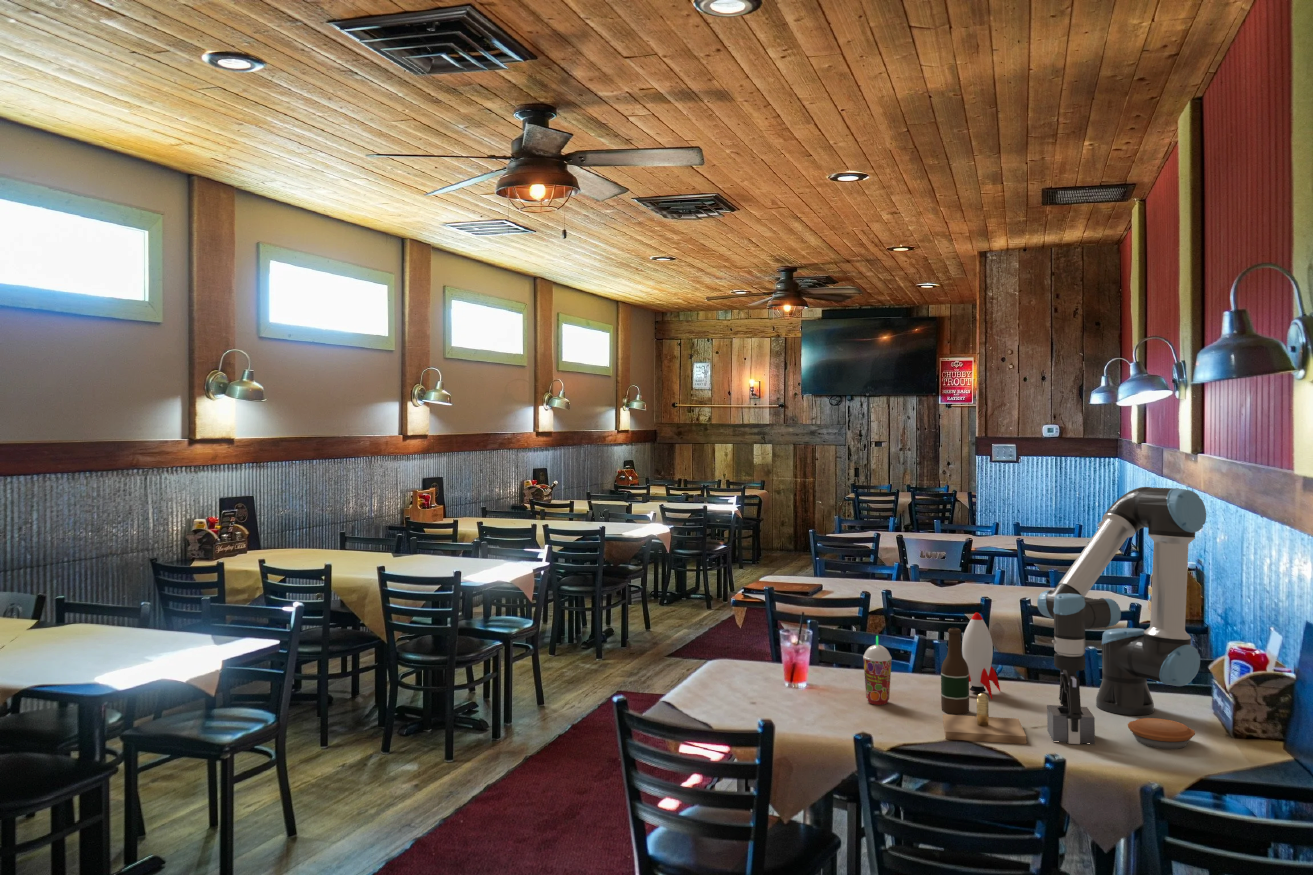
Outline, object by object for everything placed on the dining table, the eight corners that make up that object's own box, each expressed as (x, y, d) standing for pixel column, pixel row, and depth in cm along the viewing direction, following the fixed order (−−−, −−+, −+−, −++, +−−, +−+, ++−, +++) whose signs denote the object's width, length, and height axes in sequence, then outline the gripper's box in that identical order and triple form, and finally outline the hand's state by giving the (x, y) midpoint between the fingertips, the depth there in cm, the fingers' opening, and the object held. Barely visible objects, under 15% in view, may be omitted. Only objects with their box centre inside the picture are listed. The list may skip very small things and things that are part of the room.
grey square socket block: (1087, 732, 258) (1087, 706, 258) (1094, 744, 248) (1094, 717, 248) (1047, 730, 260) (1047, 704, 260) (1053, 742, 250) (1053, 715, 250)
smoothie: (861, 704, 287) (860, 637, 287) (866, 697, 295) (865, 632, 295) (889, 707, 284) (889, 639, 284) (894, 699, 292) (893, 634, 292)
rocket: (1000, 691, 300) (999, 611, 300) (992, 699, 291) (991, 616, 291) (964, 686, 306) (963, 608, 306) (955, 694, 297) (954, 613, 297)
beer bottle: (970, 715, 275) (970, 631, 275) (942, 714, 276) (941, 630, 276) (967, 708, 282) (966, 626, 282) (940, 706, 284) (939, 625, 284)
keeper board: (1018, 725, 265) (1018, 718, 265) (1026, 743, 249) (1026, 736, 249) (942, 721, 269) (942, 714, 269) (945, 738, 254) (945, 731, 254)
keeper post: (988, 723, 260) (987, 692, 260) (989, 726, 257) (988, 695, 257) (976, 722, 261) (976, 691, 261) (977, 726, 258) (977, 694, 258)
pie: (1166, 755, 239) (1166, 735, 239) (1114, 737, 254) (1114, 719, 254) (1209, 746, 246) (1208, 727, 246) (1155, 730, 260) (1155, 711, 260)
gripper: (1047, 643, 266) (1048, 722, 266) (1061, 662, 244) (1062, 749, 244) (1076, 644, 264) (1077, 724, 264) (1093, 664, 242) (1094, 751, 242)
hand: (1070, 736), depth 254 cm, fingers open, 11 cm apart
